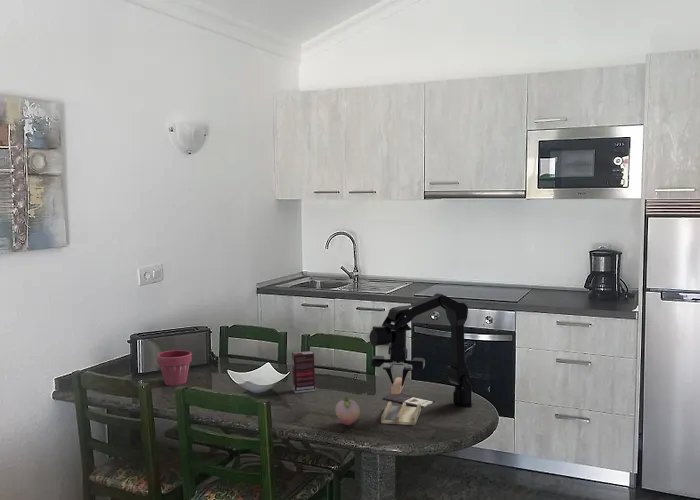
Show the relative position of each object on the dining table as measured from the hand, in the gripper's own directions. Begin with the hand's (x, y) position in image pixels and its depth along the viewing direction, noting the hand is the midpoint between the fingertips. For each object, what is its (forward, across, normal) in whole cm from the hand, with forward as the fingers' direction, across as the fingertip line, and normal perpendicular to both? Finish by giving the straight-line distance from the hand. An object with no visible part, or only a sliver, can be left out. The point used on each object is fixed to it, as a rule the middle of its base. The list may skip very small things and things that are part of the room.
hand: (397, 385), depth 243 cm
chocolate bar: (+12, -2, -19) cm, 22 cm away
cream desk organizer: (+11, -1, 0) cm, 11 cm away
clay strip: (+1, 0, 0) cm, 1 cm away
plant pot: (+13, +100, -26) cm, 104 cm away
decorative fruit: (+12, +16, +11) cm, 23 cm away
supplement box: (+12, +42, -24) cm, 50 cm away
